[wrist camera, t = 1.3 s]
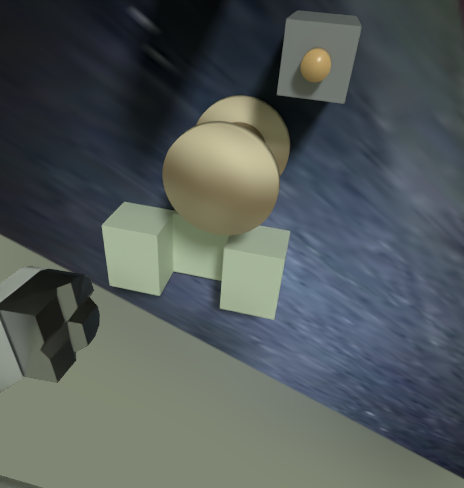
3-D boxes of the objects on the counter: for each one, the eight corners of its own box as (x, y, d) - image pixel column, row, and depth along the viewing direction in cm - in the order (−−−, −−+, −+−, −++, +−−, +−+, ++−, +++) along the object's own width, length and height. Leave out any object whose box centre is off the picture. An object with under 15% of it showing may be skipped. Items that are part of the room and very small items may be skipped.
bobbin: (197, 89, 32) (160, 117, 25) (297, 102, 31) (286, 135, 24) (195, 180, 36) (164, 225, 30) (282, 195, 35) (270, 244, 29)
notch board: (124, 201, 39) (101, 225, 36) (290, 231, 37) (284, 259, 33) (129, 258, 43) (109, 285, 39) (279, 288, 41) (273, 319, 37)
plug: (297, 10, 27) (284, 20, 21) (356, 16, 27) (362, 28, 20) (288, 72, 30) (274, 99, 23) (343, 79, 29) (344, 109, 22)
